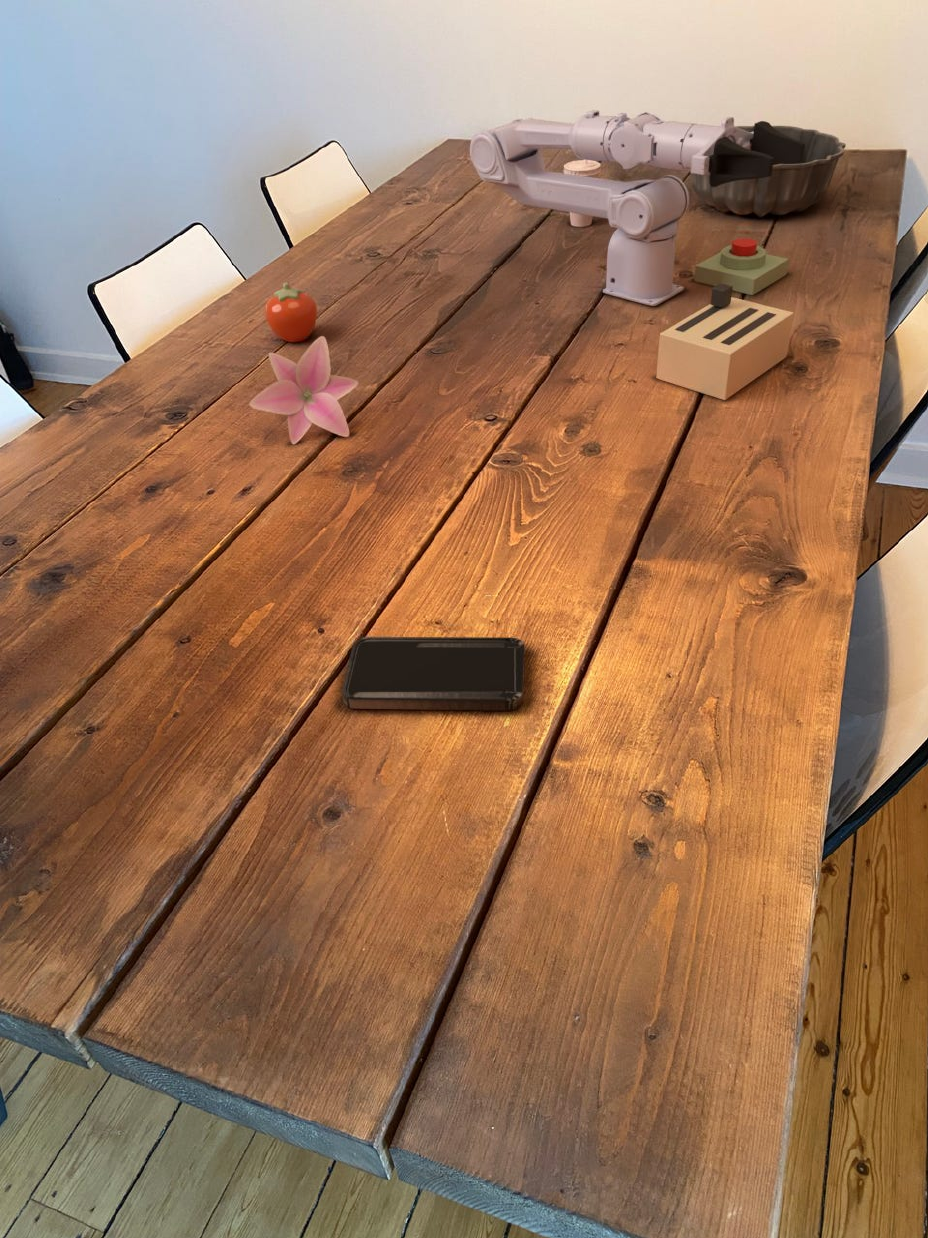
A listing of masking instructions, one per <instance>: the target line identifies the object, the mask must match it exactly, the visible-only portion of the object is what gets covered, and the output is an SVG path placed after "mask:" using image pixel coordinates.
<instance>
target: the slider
mask: <svg viewBox="0 0 928 1238" xmlns="http://www.w3.org/2000/svg"><path fill="white" fill-rule="evenodd" d="M732 287H733V286H729V285H725V284H719V285H717V286H713V287H712V289H711V298H710V304H711V305H714V306H718V307H722V308H723V307H724V306H726V305H728V304H729V303H731V297H732V296H733V295H732V294H733V290H732Z"/></svg>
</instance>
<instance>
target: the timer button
mask: <svg viewBox="0 0 928 1238" xmlns="http://www.w3.org/2000/svg"><path fill="white" fill-rule="evenodd" d="M731 245H732V249H731V254H732V255H735V256H743V257H748V256H753V255H756V248H757V246H758V242H757V240H755V239H752V238H747V237H744V238H737V239H734V240H732V242H731Z"/></svg>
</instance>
